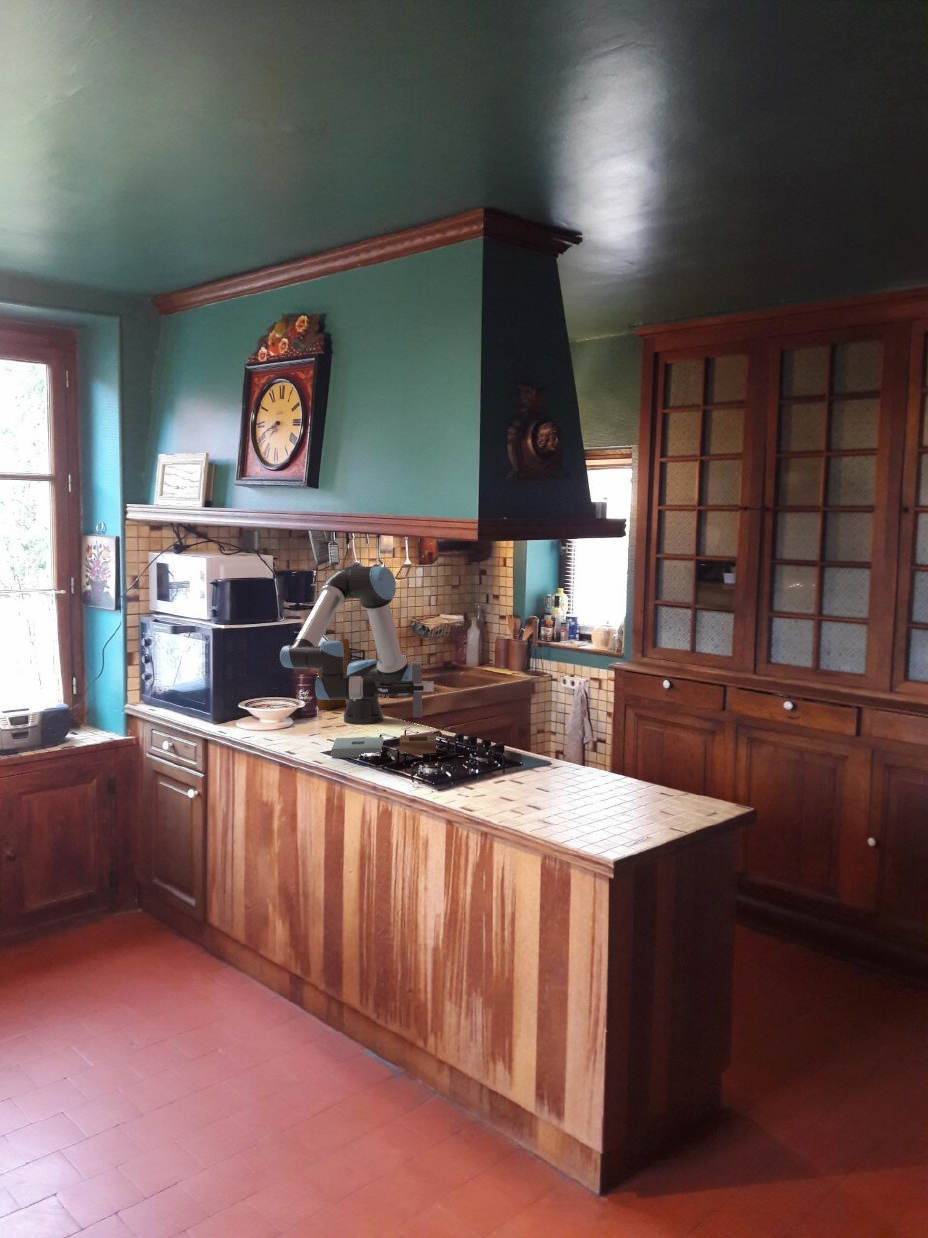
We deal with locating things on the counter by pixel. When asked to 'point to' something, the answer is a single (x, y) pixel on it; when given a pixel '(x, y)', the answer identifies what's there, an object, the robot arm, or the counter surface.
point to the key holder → (418, 744)
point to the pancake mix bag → (342, 703)
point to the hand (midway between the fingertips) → (433, 686)
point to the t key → (417, 695)
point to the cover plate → (356, 746)
